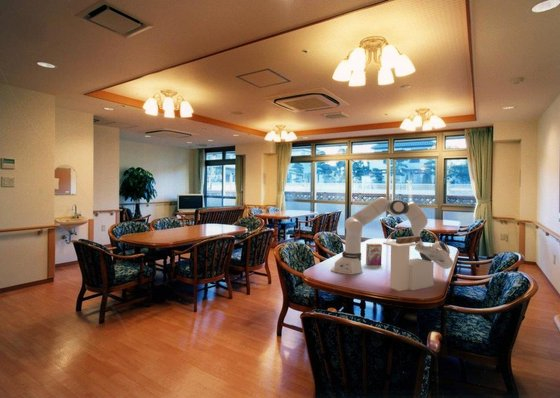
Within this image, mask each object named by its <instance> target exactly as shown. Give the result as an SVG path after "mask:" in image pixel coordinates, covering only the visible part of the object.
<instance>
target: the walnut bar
mask: <svg viewBox="0 0 560 398" xmlns="http://www.w3.org/2000/svg"><path fill="white" fill-rule="evenodd" d="M420 238H421V235H420V236H412V235H411V236H402V237H396V238H395V241H396V243H399V244H401V243H410V242H413V243H415V242H418V241H420Z"/></svg>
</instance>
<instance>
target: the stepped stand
mask: <svg viewBox="0 0 560 398" xmlns="http://www.w3.org/2000/svg"><path fill="white" fill-rule="evenodd" d="M382 244H383V245H385V246H390V275H389V276H390V278H389V279H390V280H389V283H390V284H389V285H390V286H389V288H390V289H393V290H395V291H397V292H402V291H407V290H409V291H417V290H420V289H425V288H426V289H427V288H430V287H433V286H434V272H435V271H434V265H435V264H434V263H435V262H433V261H427V260H423V259H422V258H419V257H418V258H411V259H410V251H411V250H410V247H413V246H416V245H418V243H415V242H410V243H401V244H399V243H396V240H394V241H383V242H382Z"/></svg>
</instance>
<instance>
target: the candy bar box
mask: <svg viewBox="0 0 560 398" xmlns="http://www.w3.org/2000/svg"><path fill="white" fill-rule="evenodd" d="M365 247H366V248H365V252H366V253H365V255H366V256H365V264H366V265H367V266H374V265H375V266H378V265H379V266H381V265H382V250H383V249H382V248H383V245H382V243H366V246H365Z"/></svg>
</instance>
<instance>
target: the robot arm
mask: <svg viewBox="0 0 560 398" xmlns="http://www.w3.org/2000/svg"><path fill="white" fill-rule="evenodd" d="M384 213H388V214H389V215H390V216H393V217H396V216H397V217H398V216H400V215H404V216H405V217H406V218H407V220H408V221H409V223H410V226H411V227H410V229H409V230H410V235H411V236H420V241H418V242H414V243H418V245H415V247H414V250H415V251H416V252H418V253H419V256H420V259H423V260H427V261H431V262H434V263H435V264H436V265H438V266H439V267H440V268H442V269H445V270H448V269H451V268H452V267H453V266H454V260H453V259H452V257H450V255H451V254H450V253H451V250H450V248H449V246H448V245H447V244H446V243H445V242H443V241H441V240H439V241H436V242H433V243H432V244H430V245H428V246H427V245H424V242H423V240H422V239H421V233H422V232H423V230H424V229H425V228H426V226H427V225H428V217H427V216H426V214H425V213H424V211H423V210H422V208H420V206H419V205H418V204H417V203H416V202H414V201H411V202H405V201H403V200H401V199H395V200H392V201H391V200H390V201H389V200H388V199H387V198H386V197H384V196H380V197H378V198H376V199H374V200H373V201H371V202H370V203H368V204H367V205H366V206H364V207H363V208H361V210H358V211H357V212H355V213H354V214H352V215H351V216H350V217H347V218H346V219H345V221H344V223H343V224H344V228H345V229H346V230H345V242H344V250H343V251H342V252H341V257H339V258H338V259H337V260H336V261H335V262H334V265H333V266H332V267H331V269H330V271H331V272H334V273H339V274H345V275H355V274H356V275H357V274H361V273H362V274H363V268H362V267H363V266H362V251H361V247H362V246H361V243H362V234H363V228H364V226H366V225H367V224H370V223H371V222H373V221H374V220H376V219H377V218H378V217H380V216H381V215H382V214H384Z"/></svg>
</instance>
